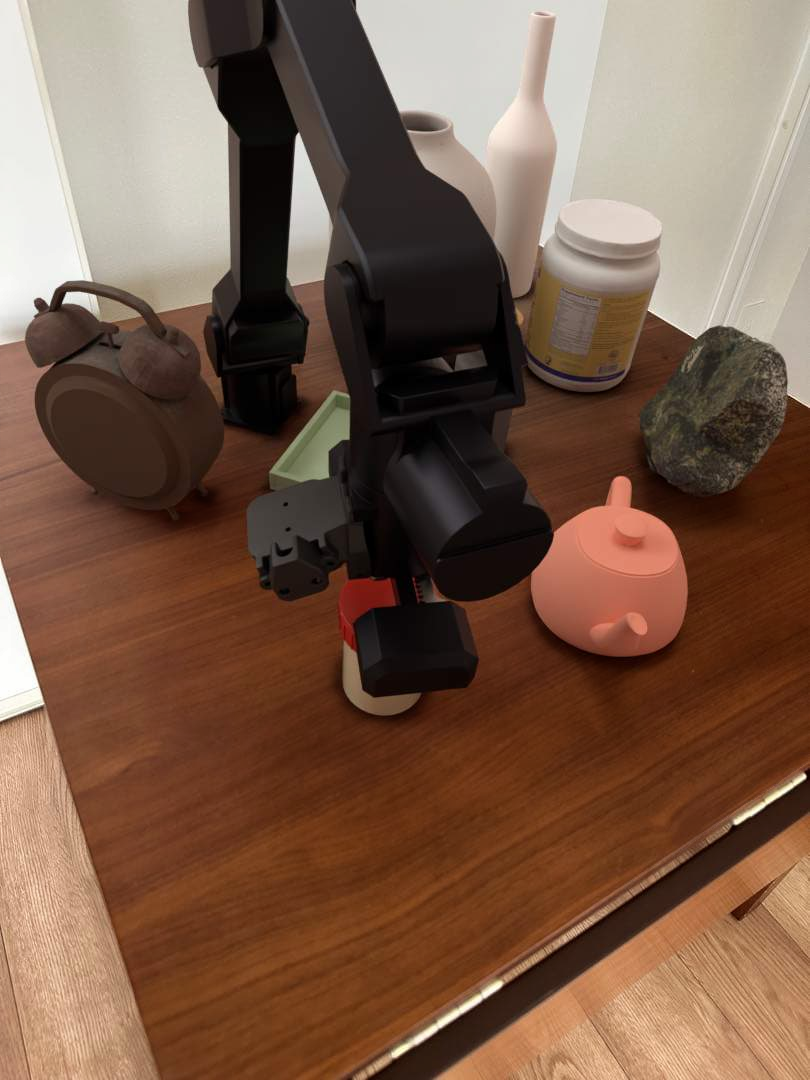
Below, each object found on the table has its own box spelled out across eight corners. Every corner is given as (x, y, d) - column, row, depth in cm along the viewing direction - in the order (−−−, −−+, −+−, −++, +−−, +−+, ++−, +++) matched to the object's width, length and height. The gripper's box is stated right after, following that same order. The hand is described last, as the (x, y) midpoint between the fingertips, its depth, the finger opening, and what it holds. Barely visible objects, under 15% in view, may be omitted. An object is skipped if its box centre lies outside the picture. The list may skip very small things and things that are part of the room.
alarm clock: (242, 489, 70) (219, 284, 56) (201, 542, 66) (164, 331, 51) (103, 449, 73) (48, 243, 59) (55, 496, 68) (-19, 284, 54)
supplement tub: (539, 327, 94) (569, 185, 82) (638, 355, 91) (683, 212, 79) (506, 376, 86) (533, 227, 74) (612, 409, 83) (658, 258, 71)
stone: (630, 424, 81) (675, 292, 71) (730, 442, 80) (791, 310, 70) (629, 516, 71) (680, 378, 61) (743, 538, 70) (816, 402, 60)
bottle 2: (499, 476, 74) (527, 337, 64) (439, 465, 75) (457, 325, 64) (506, 439, 78) (533, 303, 68) (449, 429, 79) (467, 292, 68)
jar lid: (415, 679, 49) (418, 658, 47) (320, 641, 50) (320, 620, 49) (452, 605, 53) (456, 583, 52) (364, 572, 55) (365, 550, 53)
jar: (329, 698, 56) (328, 627, 49) (361, 636, 59) (364, 563, 53) (407, 727, 54) (417, 658, 48) (434, 662, 58) (447, 590, 52)
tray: (269, 488, 71) (268, 472, 69) (333, 406, 80) (333, 389, 79) (383, 523, 69) (384, 507, 67) (435, 434, 78) (437, 418, 77)
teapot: (667, 548, 69) (703, 466, 62) (687, 723, 56) (735, 643, 49) (531, 527, 69) (552, 443, 63) (521, 694, 57) (546, 612, 50)
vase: (388, 295, 97) (399, 82, 80) (503, 344, 91) (542, 122, 74) (299, 350, 87) (290, 118, 70) (421, 408, 81) (443, 169, 64)
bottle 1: (533, 275, 104) (585, 10, 82) (526, 304, 98) (579, 27, 77) (474, 265, 105) (510, 0, 83) (463, 293, 99) (499, 16, 78)
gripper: (244, 367, 47) (261, 545, 58) (256, 610, 34) (275, 776, 45) (425, 360, 48) (407, 533, 60) (501, 588, 36) (460, 753, 47)
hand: (386, 634), depth 53 cm, fingers closed on jar lid, 6 cm apart
